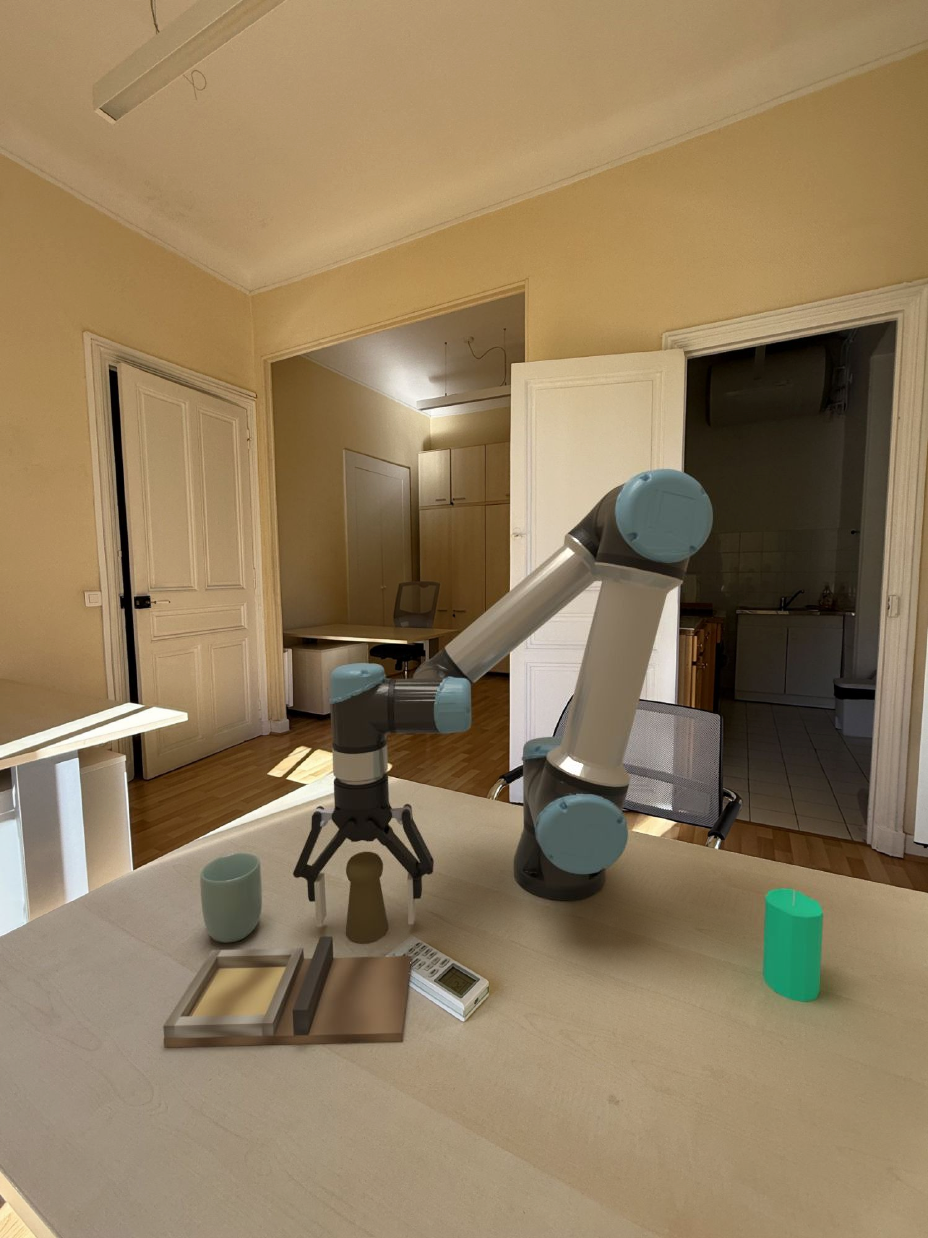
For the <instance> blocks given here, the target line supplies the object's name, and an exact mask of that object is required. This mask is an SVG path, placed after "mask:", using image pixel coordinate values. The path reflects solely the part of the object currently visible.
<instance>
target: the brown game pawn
mask: <svg viewBox="0 0 928 1238" xmlns="http://www.w3.org/2000/svg"><path fill="white" fill-rule="evenodd" d="M383 870H384V863H383V860H382V858H381V856H380V855H379V854H377V853H375V852H373V851H361V852H358V853H356V854H353V855H352V856H351V857H350V858H349V859H348V861H347V863H346V868H345V875H346V877H347V879H348V881H349V893H348V894H349V895H348V902H347V903H348V904H347V912H346V913H347V915H346V923H345V924H346V925H345V926H346V927H345V928H346V929H345V935H346V938H347V939H348V941H350V942H352V943H354V944H362V945H364V944H372V943H375V942H377V941H379V940H381V939H382V938H384V936H385V935H386V934H387V932H388V930H389V924H388V923H389V922H388V919H387V917H388V916H387V912H386V906H385V900H384V896H383V889H382V884H381V877H382V875H383Z"/></svg>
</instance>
